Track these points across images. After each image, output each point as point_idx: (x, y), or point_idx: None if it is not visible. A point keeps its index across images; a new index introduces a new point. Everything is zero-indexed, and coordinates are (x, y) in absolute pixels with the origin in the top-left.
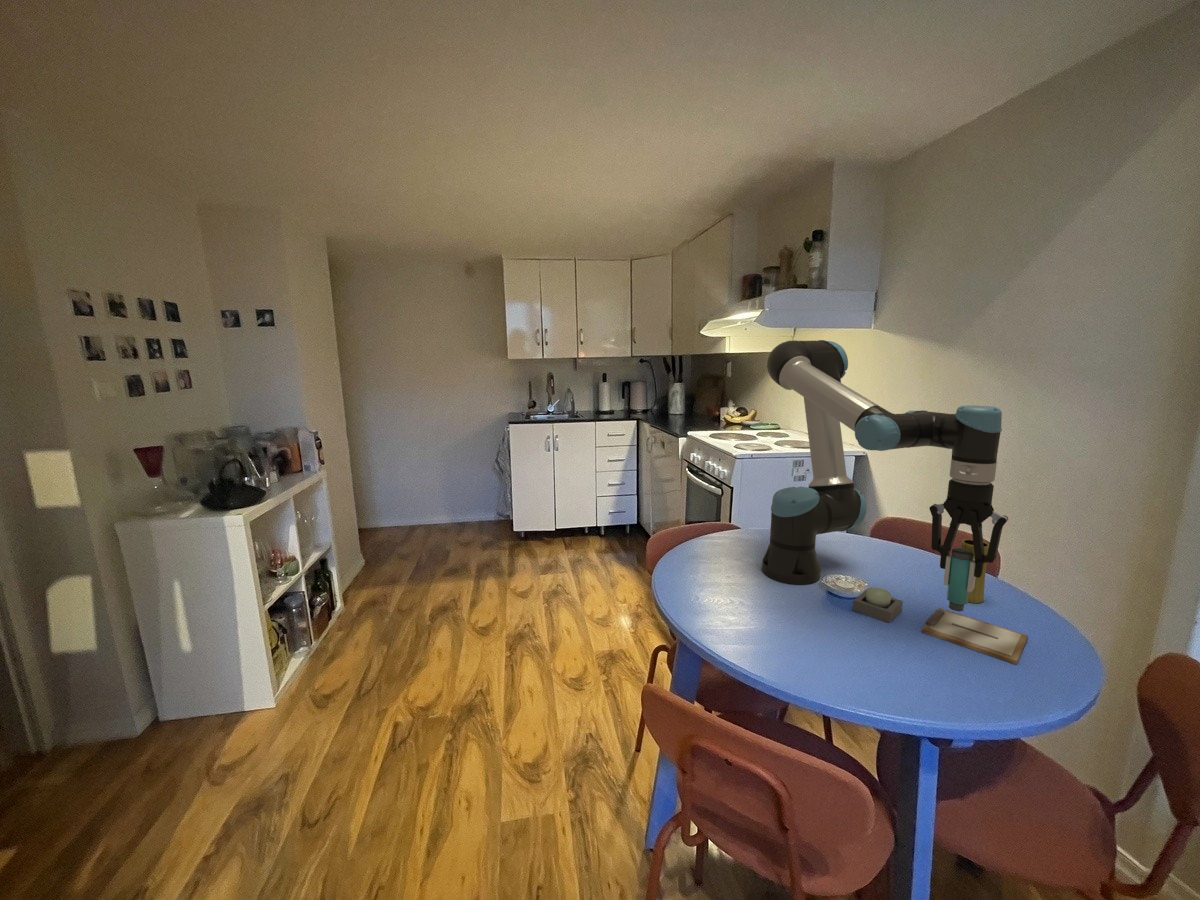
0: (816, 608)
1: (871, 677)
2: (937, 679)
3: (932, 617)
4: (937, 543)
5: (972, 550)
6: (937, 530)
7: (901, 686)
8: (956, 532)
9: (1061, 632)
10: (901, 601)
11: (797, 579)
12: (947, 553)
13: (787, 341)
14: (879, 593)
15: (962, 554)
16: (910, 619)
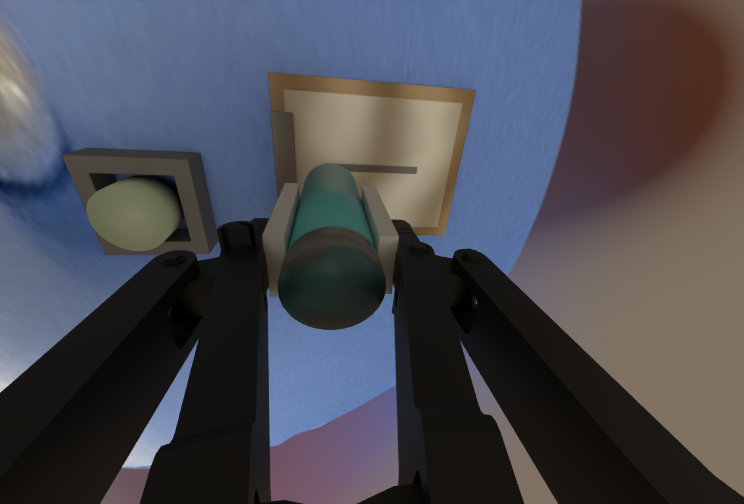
0: (70, 289)
1: (285, 391)
2: (349, 345)
3: (281, 176)
4: (192, 340)
5: None
6: (131, 440)
7: (319, 383)
8: (260, 364)
9: None
10: (187, 166)
11: None
12: (266, 298)
13: None
14: (135, 227)
15: (341, 327)
16: (240, 187)
